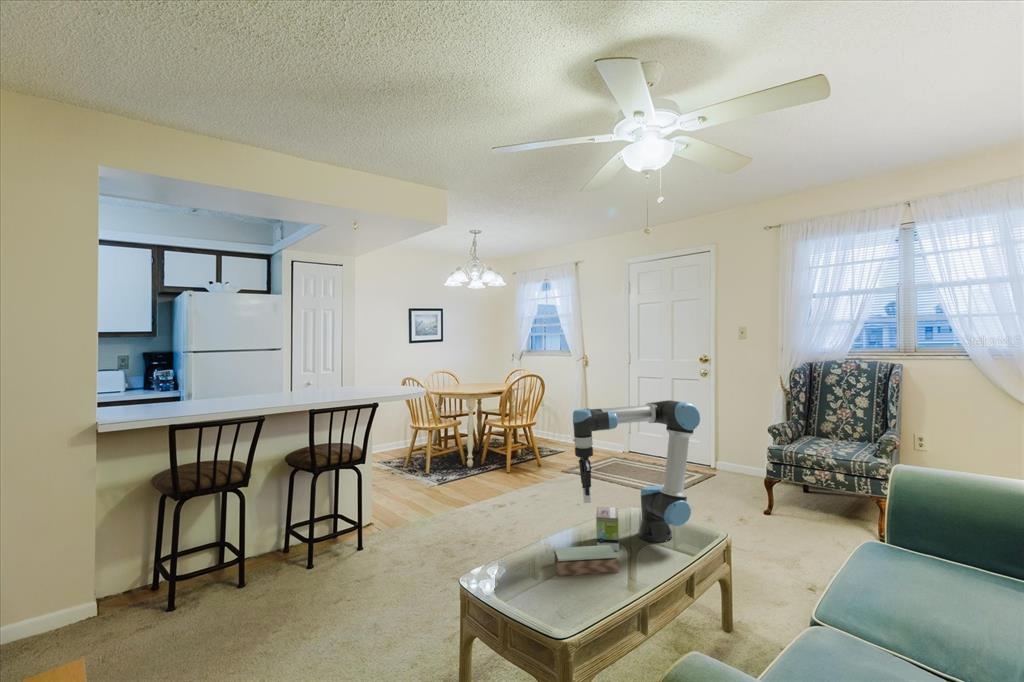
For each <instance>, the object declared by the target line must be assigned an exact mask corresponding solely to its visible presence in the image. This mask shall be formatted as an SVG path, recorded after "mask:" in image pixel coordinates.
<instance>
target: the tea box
mask: <svg viewBox="0 0 1024 682" xmlns="http://www.w3.org/2000/svg"><path fill="white" fill-rule="evenodd" d="M596 508H597V509H596V518H595V520H596V521H595V522H596V524H595V526H596V546H602V545H610V546H611V548H612V549H613V550H614V552H619V551H620V527H619V526H620V524H619V523H620V522H619V520H620V519H619V508H618V507H607V506H606V507H603V506H602V507H601V506H599V507H596Z"/></svg>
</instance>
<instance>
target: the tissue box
mask: <svg viewBox="0 0 1024 682" xmlns="http://www.w3.org/2000/svg"><path fill="white" fill-rule="evenodd" d="M553 552H554V554H553V555H554V565H555V568H556V572H557V575H558V576H559V577H565V576H566V577H567V576H569V577H570V576H582V575H583V576H584V575H585V576H586V575H597V574H598V575H599V574H613V573H614V574H615V573H619V559H618V557H617V558H602V559H586V560H569V561H558V558H557V555H556V553H555V550H553Z"/></svg>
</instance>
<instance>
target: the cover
mask: <svg viewBox="0 0 1024 682" xmlns="http://www.w3.org/2000/svg"><path fill="white" fill-rule="evenodd" d="M554 551H555V553H556V555H557V558H558V561H569V560H586V559H602V558H617V559H618V554H617V553H616V551H614V550H613V549H612V548H611V546H610V545H602V546H597V545H588V546H585V545H584V546H572V547H558V548H557V547H555V548H554Z"/></svg>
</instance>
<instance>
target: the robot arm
mask: <svg viewBox="0 0 1024 682" xmlns="http://www.w3.org/2000/svg"><path fill="white" fill-rule="evenodd" d="M642 422H643V423H644V422H647V423H648V424H661V425H666V431H667V433H668V443H667V445H668V446H667V453H666V462H665V463H666V464H665V471H664V482H663V486H661V485H649V486H644V487H642V488H641V489H640V505H641V521H640V525H639V528H638V537H639V538H640V539H642V540H645V541H646V542H652V543H663V541H665V542H667V541H666V540H669V539H671V537H672V538H673V532H672V528H671V527H670V525H671V526H674V527H682V526H684V525H685V524H686V523H687V522H688V521H689V520H690V517H691V515H692V508H691V506H690V504H689V503H688V502H687V500H688V494H687V493H686V491H685V483H686V473H687V464H688V462H687V461H688V452H689V441H690V437H691V436H692V435H693V434H694V431H695V429H697V428H698V426H699V425H700V422H701V414H700V411H699V409H698V408H697V407H696V406H695V405H694V404H692V403H689V402H686V401H678V400H671V399H670V400H661V401H655V402H654V401H653V402H652V401H651V402H647V403H645V404H644V405H635V406H634V405H631V406H620V407H619V406H618V407H617V406H615V407H603V408H592V409H591V408H582V409H575V410H574V411H573V413H572V423H573V437H574V439H572V441H573V442H574V446H575V447H574V455H575V457H577V458H579V460H578V465H579V473H580V483H581V484H582V485H581V488H582V496H583V503H584V504H590V503H591V502H592V501H591V487H592V466H591V460H590V457H592V456H593V455H594V448H593V445H594V444H593V432H599V431H607V430H608V431H610V430H614V429H616V428H617V427H618V424H631V423H642ZM671 540H672V539H671ZM669 541H670V540H669Z"/></svg>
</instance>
